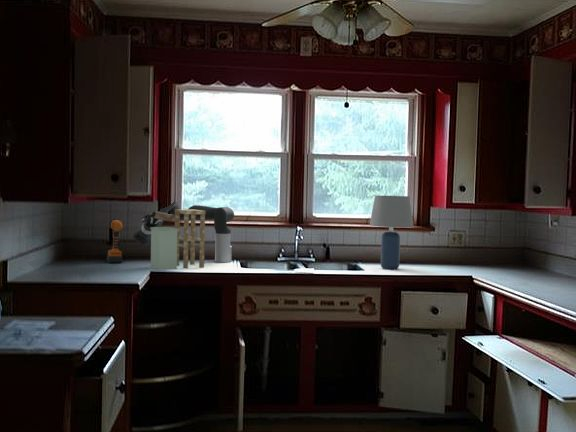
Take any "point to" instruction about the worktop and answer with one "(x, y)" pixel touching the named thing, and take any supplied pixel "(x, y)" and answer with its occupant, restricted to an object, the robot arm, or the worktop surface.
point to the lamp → (391, 225)
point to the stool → (190, 238)
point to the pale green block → (164, 247)
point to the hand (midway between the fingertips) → (158, 212)
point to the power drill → (115, 243)
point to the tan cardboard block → (164, 216)
